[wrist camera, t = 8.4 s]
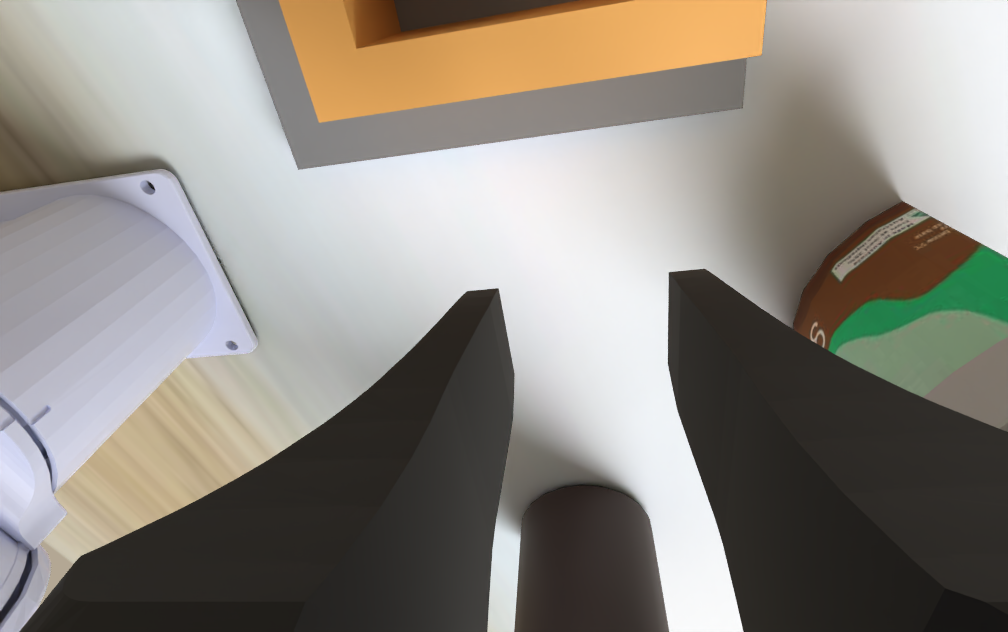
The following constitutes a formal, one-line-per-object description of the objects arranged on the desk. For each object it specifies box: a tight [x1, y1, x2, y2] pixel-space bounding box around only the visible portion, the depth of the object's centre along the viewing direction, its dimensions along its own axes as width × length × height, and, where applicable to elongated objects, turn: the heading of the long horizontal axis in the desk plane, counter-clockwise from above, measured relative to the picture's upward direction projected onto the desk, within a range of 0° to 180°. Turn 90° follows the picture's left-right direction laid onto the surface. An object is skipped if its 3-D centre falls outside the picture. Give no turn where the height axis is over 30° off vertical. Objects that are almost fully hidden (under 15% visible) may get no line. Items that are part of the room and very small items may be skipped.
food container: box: [793, 201, 1008, 432], centre depth 16 cm, size 12×6×10 cm, turn 36°
